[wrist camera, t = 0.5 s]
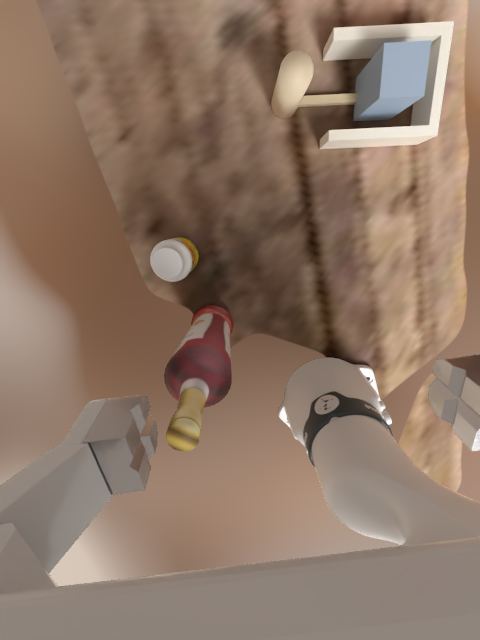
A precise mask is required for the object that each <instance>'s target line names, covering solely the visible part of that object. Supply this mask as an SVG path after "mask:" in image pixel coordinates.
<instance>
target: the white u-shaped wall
mask: <svg viewBox="0 0 480 640" xmlns="http://www.w3.org/2000/svg"><path fill="white" fill-rule="evenodd" d="M453 26H454V21H450V22H431V23H413V24H394V25H375V26H356V27H337V28H334V29H333V31H332V33H331V35H330V37H329V39H328V41H327V43H326V45H325V47H324V49H323V61H330V60H350V59H369V58H372V57H373V56H374V55H375V54H376V53H377V51H378V50H379V49H380V48H381V46H382V45H383V44H384V43H390V42H409V41H428V40H431V48H430V56H429V63H428V71H427V78H426V86H425V93H424V97H422V98H421V99H419V100H418V101H416V102H415V103H413V110H412V118H411V126H402V127H382V128H361V129H341V130H329V131H328V132H327V133H326V134H325V135H324V136H323V137H322V138H321V139H320V149H335V148H355V147H376V146H397V145H417V144H419V143H421V142H424V141H426V140H428V139H431V138H433V137H435V136H437V133H438V126H439V119H440V113H441V106H442V99H443V93H444V86H445V79H446V73H447V66H448V59H449V52H450V46H451V39H452V32H453Z"/></svg>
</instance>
